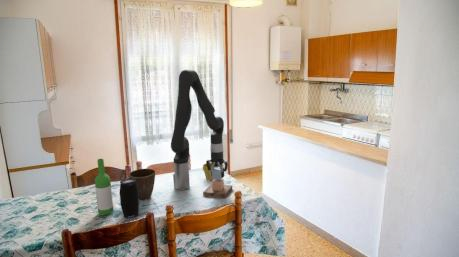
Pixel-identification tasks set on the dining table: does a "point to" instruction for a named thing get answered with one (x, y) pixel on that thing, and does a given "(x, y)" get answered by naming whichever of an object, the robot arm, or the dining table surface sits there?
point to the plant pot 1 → (144, 182)
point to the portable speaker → (129, 197)
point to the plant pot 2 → (208, 171)
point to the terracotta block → (218, 184)
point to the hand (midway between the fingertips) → (217, 176)
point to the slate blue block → (216, 174)
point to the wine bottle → (103, 190)
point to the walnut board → (216, 193)
